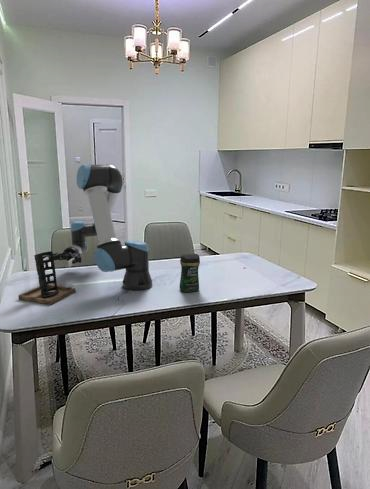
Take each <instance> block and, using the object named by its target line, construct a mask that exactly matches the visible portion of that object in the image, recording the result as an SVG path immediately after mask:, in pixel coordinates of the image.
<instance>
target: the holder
mask: <svg viewBox="0 0 370 489" xmlns="http://www.w3.org/2000/svg"><path fill="white" fill-rule="evenodd" d="M53 254H54V252H53V251H52V250H51V251H45V252H40V253H37V254H34V255H33V256H34V261H35V262H34V263H35V267H36V272H37V276H38V285H39V286H40V289H41V296H42V298H48V297H51V296H54V295H56V294H58V293H59V290H58V287H57V285H58V281H57V280H58V279H57V274H56V267H55V260H54V258H53ZM46 255H50V256H51V259H49V260H43V256H46ZM44 263H45V265H44ZM49 263H51V265H49ZM49 270H52V273H47V274H46V271H49ZM51 277H53V280H51ZM47 284H53V285H55V287H53V288H47ZM53 290H56V291H55V292H49V291H53ZM43 295H47V296H43Z"/></svg>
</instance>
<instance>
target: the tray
mask: <svg viewBox="0 0 370 489" xmlns="http://www.w3.org/2000/svg"><path fill="white" fill-rule="evenodd" d="M53 287H55V285H54V284H53V283H51V284H47V288H53ZM57 287H58V290H59V293H58V294H56V295H54V296H51V297H48V298H42V296H41V289H40V285H39V286H37V287H34V288H32V289H30V290H28V291H26V292H23V293H21V294H18V296H17V297H18V300H19V301H24V302H30V303H31V302H32V303H36V304H42V305H47V306H52V305H54V304H56V303H57V302H59V301H61V300H64V299H66V298H68V297H70V296H71V295H74V294H75V293H77V288H76V287H71V286H63V285H59V284H57ZM55 291H56V290H53V291H49V292H55ZM43 296H47V295H43Z"/></svg>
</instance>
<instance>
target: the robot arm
mask: <svg viewBox="0 0 370 489" xmlns="http://www.w3.org/2000/svg"><path fill="white" fill-rule="evenodd" d="M122 176H123V175H122V173H121V172H120V170H119V169H118V168H117V167H115V166H114V165H112V164H107V163H106V164H82V165H80V166H79V167H78V169H77V173H76V186H77V187H78V189H79V190H82V191H83V194H84V195H85V196H87V197H88V198H87V199H88V202H89V207H90V212H91V215H92V219H93V223H85V221H83V220H74V221H72V222H71V223H70V234H71V245H70V246H68V247H67V248H65V249H64V250H63V252H60V253H59V252H55V253H54V252H53V258H54V261H67V265H68V266H67V267H68V268H70V267H71V266H73V265H75V264H78V263H79V264H81V263H82V255H84V254H85V253H86V252H88V250H89V245H88V243H87V241H86V238H90V237H91V238H92V237H97V241H98V243H97V244H96V249H95V250H94V253H93V255H94V256H93V257H94V258H93V259H94V261H95V264H96V266H97V268H98V269H99V270H100V271H101V272H104V273H108V272H109V273H112V272H114V271H120V270H124V269H125V273H124V277H123V278H122V288H123V289H125V290H129V291H143V290H149V289H151V287H152V286H153V279H152V276H151V274H150V270H149V266H150V264H149V263H150V262H149V260H150V258H149V254H150V253H149V252H150V251H149V245H148V243H147V242H144V241H140V240H126V241H125V242H124V244H123V245H122V242H121V240H120V239H119V238H117V236H116V231H115V227H114V223H113V219H112V212H113V209H114V205H115V203H116V200H117V197H118V194H119V193H121V191H122V189H123V185H124V184H123V183H124V182H123V180H124V179H123V177H122ZM49 259H51V256H50V255H45V256H43V260H49ZM44 266H45V263H44Z"/></svg>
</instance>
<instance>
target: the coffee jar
mask: <svg viewBox="0 0 370 489" xmlns="http://www.w3.org/2000/svg"><path fill="white" fill-rule="evenodd" d="M200 259H201V258H200V255H199V254H198V253H183V254H181V256H180V260H179V263H180V266H181V270H180V272H181V273H180V277H179V278H180V279H179V290H180V291H181V292H184V293H193V292H194V293H195V292H198V291H199V290H200V280H199V279H200V278H199V266H200V263H201V260H200Z"/></svg>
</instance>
